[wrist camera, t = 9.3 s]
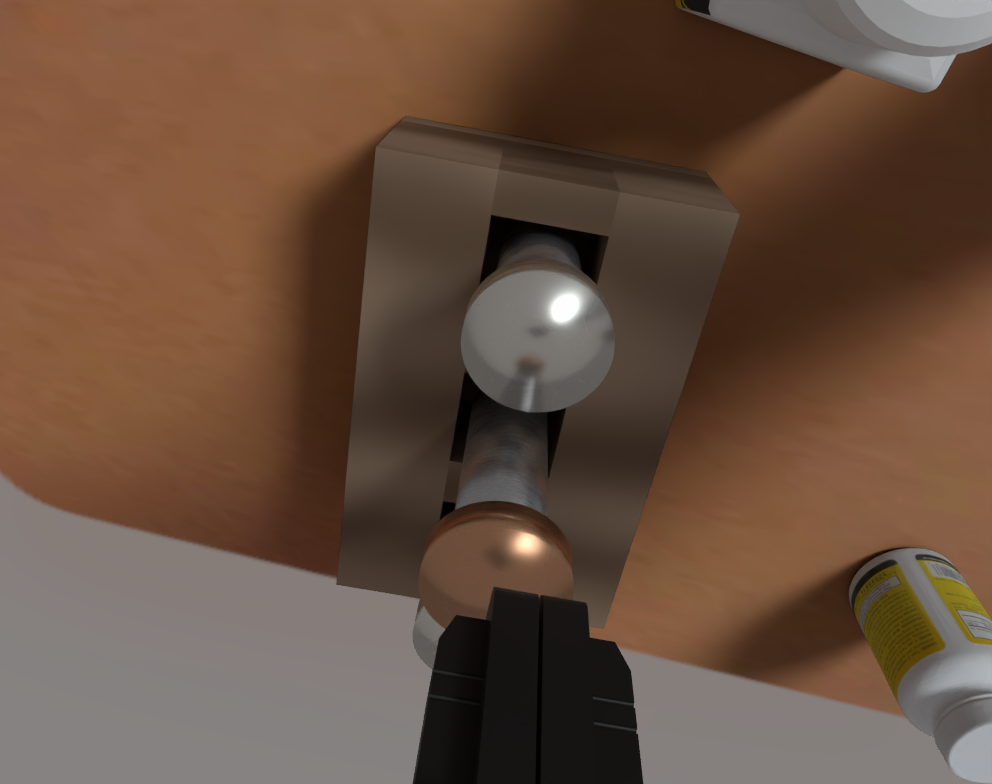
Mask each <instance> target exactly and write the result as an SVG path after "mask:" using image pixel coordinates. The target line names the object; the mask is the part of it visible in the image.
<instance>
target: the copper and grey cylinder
mask: <svg viewBox="0 0 992 784" xmlns="http://www.w3.org/2000/svg"><path fill="white" fill-rule="evenodd" d="M493 587H499V588H505V589H511V590H516V591H522V592H528V593H533V594H538V595H539V598H540V596H541V595H546V596H552V597H557V598H563V599H569V600H572V599H573V591H574V584H573V564H572V553H571V549H570V545H569V543H568V541H567V539H566V537H565V535H564V534H563V532H562V531H561V529H560V528H559V527H558V526H557V525H556V524H555V523H554V522H553V521H552V520H550V519H549V518H548V443H547V412H525V411H520V410H516V409H512V408H510V407H507V406H504V405H502V404H500V403H498V402H496V401H495V400H493V399H492V398H490V397H489V396H488V395H486V394H485V393H484V392H483V391H482V390H481V389H480V388H479V389H478V391H477V392H476V394H475V396H474V399H473V403H472V409H471V415H470V421H469V427H468V433H467V439H466V445H465V451H464V457H463V463H462V469H461V475H460V481H459V487H458V494H457V500H456V506H455V510H454V511H452V512H451V513H449V514H447V515H446V516H445V517H443V518H442V519H441V520H440V521H439V522H438V523H437V524H436V525H435V526H434V528H433V529H432V531H431V532H430V534H429V536H428V538H427V540H426V544H425V548H424V553H423V558H422V562H421V567H420V572H419V577H418V589H419V594H420V598H421V601H422V603H423V605H424V607H425V609H426V610H427V612H428V613H429V615H430V616H431V617H432V618H433V619H434V620H435V621H436V622H437V623H438V624H439V625H440V626H442V627H443V628H445V629H446V628H447V627H448V625H449V624H450V623H451V621H452V620H453V618H454V617H455V616H456V615H461V616H467V617H472V618H478V619H484V620H486V616H487V611H488V607H489V603H490V598H491V594H492V590H493Z"/></svg>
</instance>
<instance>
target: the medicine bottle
mask: <svg viewBox="0 0 992 784" xmlns="http://www.w3.org/2000/svg"><path fill="white" fill-rule="evenodd" d="M675 3H676V6H677V7H678V8H680V9H681V10H684V11H686V12H689V13H692V14H695V15H698V16H700V17H703V18H706V19H709V20H712V21H714V22H717V23H720V24H723V25H726V26H728V27H731V28H734V29H737V30H740V31H742V32H745V33H748V34H751V35H754V36H756V37H759V38H762V39H765V40H768V41H770V42H773V43H776V44H779V45H782V46H784V47H787V48H790V49H793V50H796V51H798V52H801V53H804V54H807V55H810V56H813V57H815V58H818V59H821V60H824V61H827V62H829V63H832V64H835V65H838V66H841V67H843V68H846V69H849V70H852V71H856V72H859V73H862V74H865V75H868V76H871V77H874V78H877V79H880V80H883V81H886V82H890V83H893V84H896V85H899V86H902V87H905V88H908V89H911V90H914V91H917V92H923V93H927V92H930V91H932V90H935V89H936V88H937V87H938V86H939V85H940V83H941V82H942V80H943V78H944V76H945V74H946V73H947V71H948V69H949V67H950V65H951V64H952V62H953V60H954V58H955V57H956V55H957V54H960V53H965V52H969V51H972V50H975V49H978V48H981V47H983V46H986V45H989V44H991V43H992V0H675Z"/></svg>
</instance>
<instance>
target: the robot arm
mask: <svg viewBox="0 0 992 784" xmlns="http://www.w3.org/2000/svg"><path fill="white" fill-rule="evenodd" d="M636 730H637V722H636V714H635V708H634V696H633V686H632V677H631V670H630V669H629V667H628V665H627V663H626V661H625V660H624V658H623V656H622V654H621V652H620V650H619V649H618V647H617V645H616V643H615V642H612V641H606V640H600V639H594V638H590V636H589V617H588V606H587V603H586V602H580V601H574V600H569V599H563V598H557V597H552V596H546V595H541V596H540V598H539V595H538V594H533V593H528V592H522V591H516V590H511V589H505V588H499V587H493V590H492V594H491V598H490V603H489V607H488V611H487V616H486V620H484V619H478V618H472V617H467V616H461V615H456V616H455V617H454V618H453V620H452V621H451V623H450V624H449V625H448V627H447V628H446V629H445V631H444V632H443V633H442V635H441V636H440V637H439V640H438V645H437V650H436V655H435V661H434V666H433V671H432V676H431V682H430V687H429V692H428V697H427V702H426V708H425V714H424V721H423V726H422V732H421V738H420V743H419V750H418V755H417V762H416V767H415V773H414V779H413V784H643V778H642V769H641V759H640V750H639V741H638V734H636Z"/></svg>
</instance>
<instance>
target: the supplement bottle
mask: <svg viewBox="0 0 992 784" xmlns="http://www.w3.org/2000/svg"><path fill="white" fill-rule="evenodd" d="M849 601H850V604H851V607H852V610H853V612H854V615H855V617H856V619H857V621H858V623H859V625H860V627H861V629H862V631H863V633H864V635H865V637H866V639H867V641H868V643H869V645H870V647H871V649H872V651H873V653H874V655H875V657H876V659H877V661H878V663H879V665H880V667H881V669H882V671H883V673H884V675H885V677H886V680H887V682H888V684H889V686H890V688H891V690H892V692H893V694H894V696H895V698H896V700H897V702H898V704H899V706H900V708H901V709H902V711H903V713H904V715H905V716H906V718H907V719H908V720H909V721H910V723H912V724H913V725H914V726H915V727H916V728H917V729H919V730H920V731H922V732H924V733H926V734H928V735H930V736H932V737H934V738H935V742H936V745H937V747H938V749H939V750H940V751H941V753H942V755H943V757H944V759H945V761H946V762H947V765H948V766H949V768H950V769H951V770H952V771H953V772H954V773H955V774H956V775H957V776H959V777H961V778H963V779H965V780H968V781H972V782H977V783H992V619H991V618H990V616H989V615H988V614H987V612H986V611H985V609H984V608H983V606H982V605H981V603H980V602H979V601H978V599H977V598H976V596H975V595H974V593H973V592H972V591H971V589H970V588H969V586H968V585H967V583H966V582H965V580H964V579H963V578H962V576H961V575H960V573H959V572H958V570H957V569H956V568H955V567H954V566H953V564H952V563H951V562H950V561H949V560H948V559H946V558H945V557H944V556H942V555H940V554H938V553H936V552H934V551H931V550H928V549H922V548H903V549H897V550H893V551H890V552H886V553H884V554H881V555H879V556H877V557H875V558H874V559H872V560H870V561H869V562H867V563H866V564H865V565H864V566H863V567H861V568H860V570H859V571H858V572H857V573H856V575H855V576H854V578H853V580H852V582H851V584H850V588H849Z"/></svg>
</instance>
